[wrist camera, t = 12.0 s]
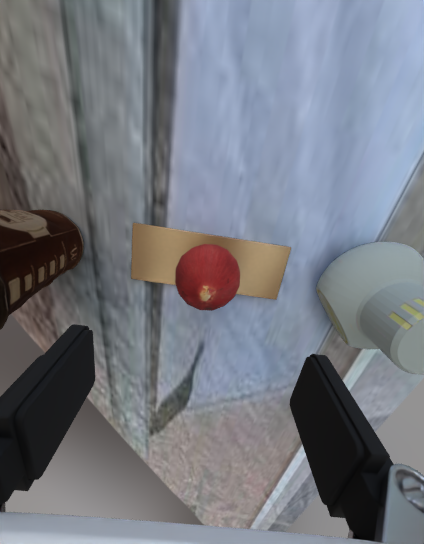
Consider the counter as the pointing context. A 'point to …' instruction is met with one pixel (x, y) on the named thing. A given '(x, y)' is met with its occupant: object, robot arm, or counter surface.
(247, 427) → the counter surface
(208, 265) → the onion
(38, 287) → the coffee cup
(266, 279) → the row strip
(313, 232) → the counter surface
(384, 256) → the air freshener
